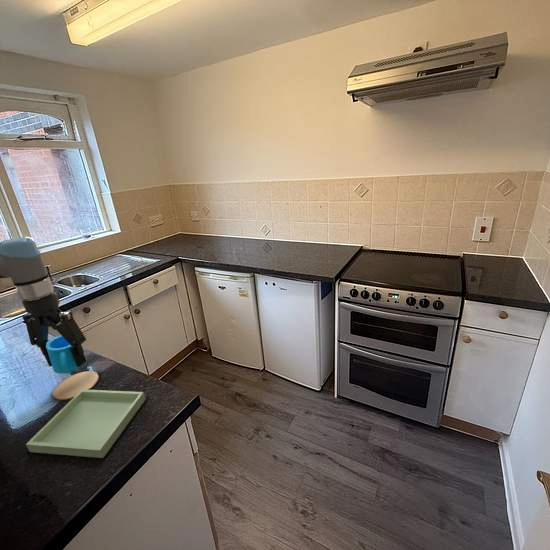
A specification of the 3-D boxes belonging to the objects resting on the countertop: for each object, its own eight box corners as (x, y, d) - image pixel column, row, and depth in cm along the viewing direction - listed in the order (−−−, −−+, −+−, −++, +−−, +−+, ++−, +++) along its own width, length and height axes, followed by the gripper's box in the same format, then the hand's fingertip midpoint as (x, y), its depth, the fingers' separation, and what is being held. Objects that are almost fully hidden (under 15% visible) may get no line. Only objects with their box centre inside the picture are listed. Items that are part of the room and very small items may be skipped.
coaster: (43, 399, 87) (42, 398, 87) (74, 371, 98) (74, 370, 98) (79, 400, 85) (78, 399, 85) (107, 372, 96) (106, 371, 96)
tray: (29, 452, 70) (25, 444, 69) (84, 396, 86) (81, 389, 85) (103, 458, 67) (99, 450, 66) (146, 398, 83) (143, 391, 82)
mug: (54, 360, 92) (47, 338, 89) (85, 352, 96) (79, 331, 92) (50, 385, 82) (42, 361, 79) (84, 376, 86) (78, 352, 83)
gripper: (83, 288, 82) (108, 356, 90) (18, 290, 85) (47, 355, 94) (61, 300, 75) (90, 373, 83) (-9, 302, 79) (25, 371, 87)
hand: (67, 363), depth 88 cm, fingers open, 9 cm apart
